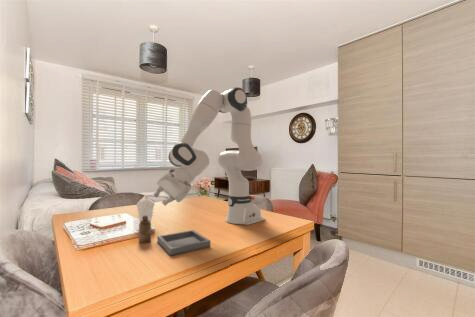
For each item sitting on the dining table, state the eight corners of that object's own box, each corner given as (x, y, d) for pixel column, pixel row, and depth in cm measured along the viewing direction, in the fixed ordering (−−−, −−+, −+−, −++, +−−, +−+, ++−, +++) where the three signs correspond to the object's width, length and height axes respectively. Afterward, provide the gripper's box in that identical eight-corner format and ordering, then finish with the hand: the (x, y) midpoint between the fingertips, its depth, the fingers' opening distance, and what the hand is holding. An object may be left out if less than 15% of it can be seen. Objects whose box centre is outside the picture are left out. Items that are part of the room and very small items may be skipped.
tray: (193, 235, 107) (193, 229, 107) (210, 246, 94) (210, 240, 94) (157, 242, 98) (157, 236, 98) (170, 256, 85) (170, 249, 85)
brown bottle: (149, 238, 103) (149, 213, 102) (152, 241, 99) (152, 216, 99) (137, 240, 100) (138, 214, 100) (140, 243, 96) (140, 217, 96)
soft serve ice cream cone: (148, 229, 114) (148, 196, 114) (132, 228, 115) (132, 195, 115) (157, 224, 122) (157, 193, 122) (142, 223, 124) (143, 192, 123)
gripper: (196, 190, 106) (173, 213, 101) (175, 176, 121) (154, 196, 116) (189, 181, 102) (164, 205, 97) (168, 168, 117) (146, 187, 112)
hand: (158, 200), depth 107 cm, fingers open, 8 cm apart
